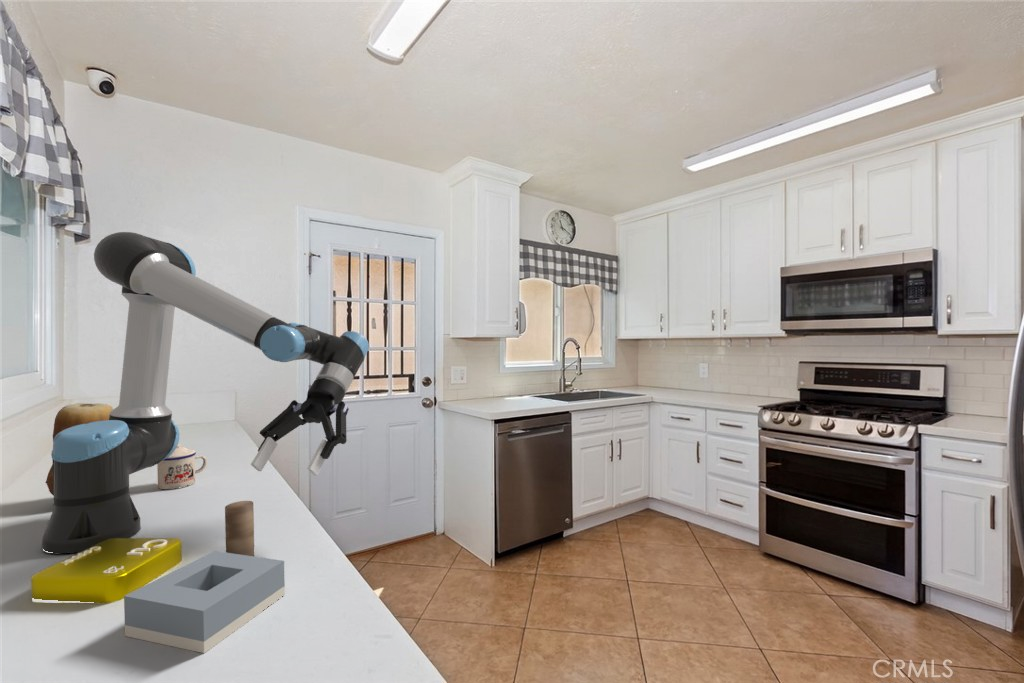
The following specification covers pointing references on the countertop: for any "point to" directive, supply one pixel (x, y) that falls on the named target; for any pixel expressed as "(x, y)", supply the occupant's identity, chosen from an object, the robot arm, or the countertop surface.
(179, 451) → the enamel mug
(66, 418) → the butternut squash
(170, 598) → the socket block
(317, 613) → the countertop surface
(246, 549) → the pin
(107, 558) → the element tile
